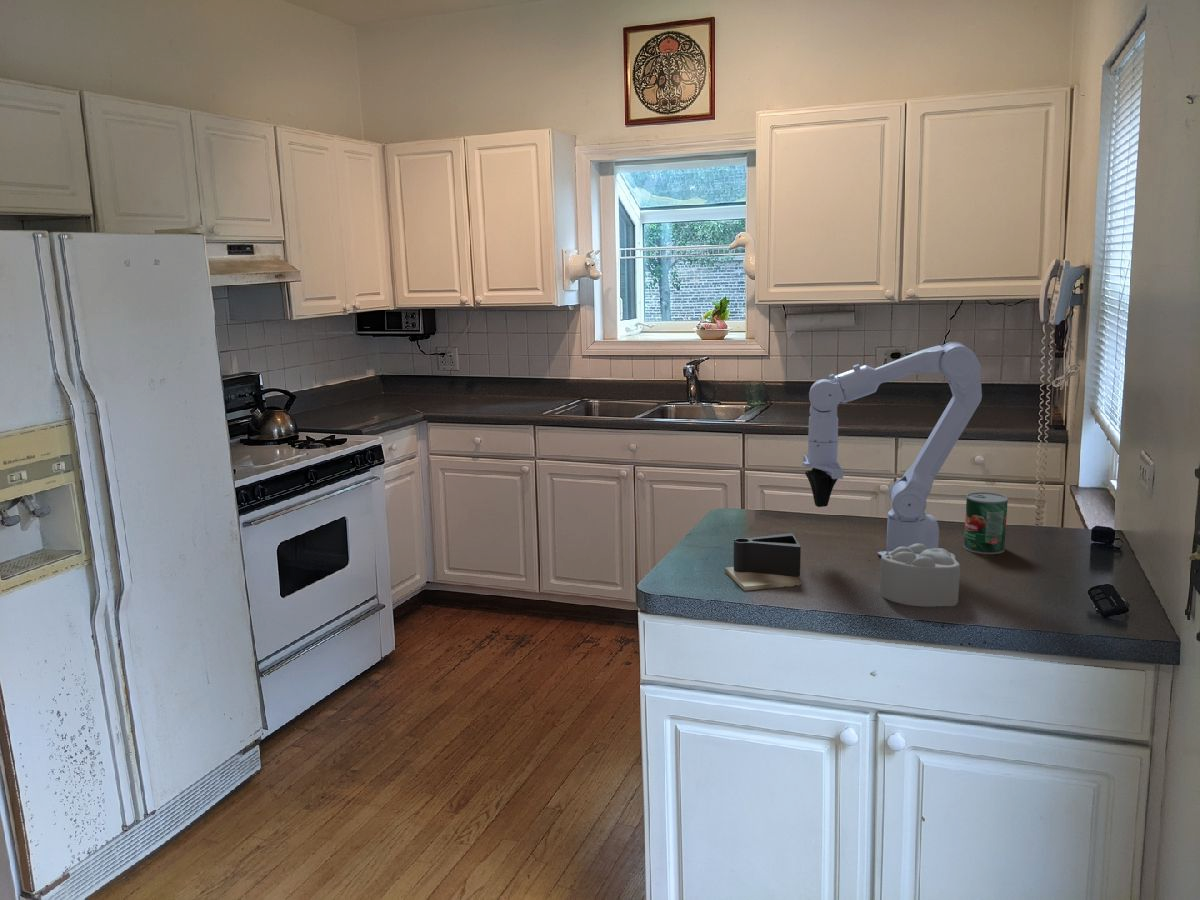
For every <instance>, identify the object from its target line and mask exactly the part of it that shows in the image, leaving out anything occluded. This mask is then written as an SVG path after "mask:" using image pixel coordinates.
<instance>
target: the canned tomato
mask: <svg viewBox="0 0 1200 900" xmlns="http://www.w3.org/2000/svg"><path fill="white" fill-rule="evenodd" d="M1008 500H1009V498H1008V497H1007V496H1006V495H1003V494H1000V493H995V492H986V491H985V492H984V491H978V492H976V491H975V492H971V493H967V494H966V500H965V501H966V503H965V517H964V518H965V521H964V539H963V540H964V541H963V548H964V549H965V550H966V551H969V552H971V553H975V554H979V555H980V554H981V555H998V554H1003V553H1005V550H1006V548H1005V547H1006V531H1007V519H1008V518H1007V517H1008V502H1009V501H1008Z"/></svg>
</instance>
